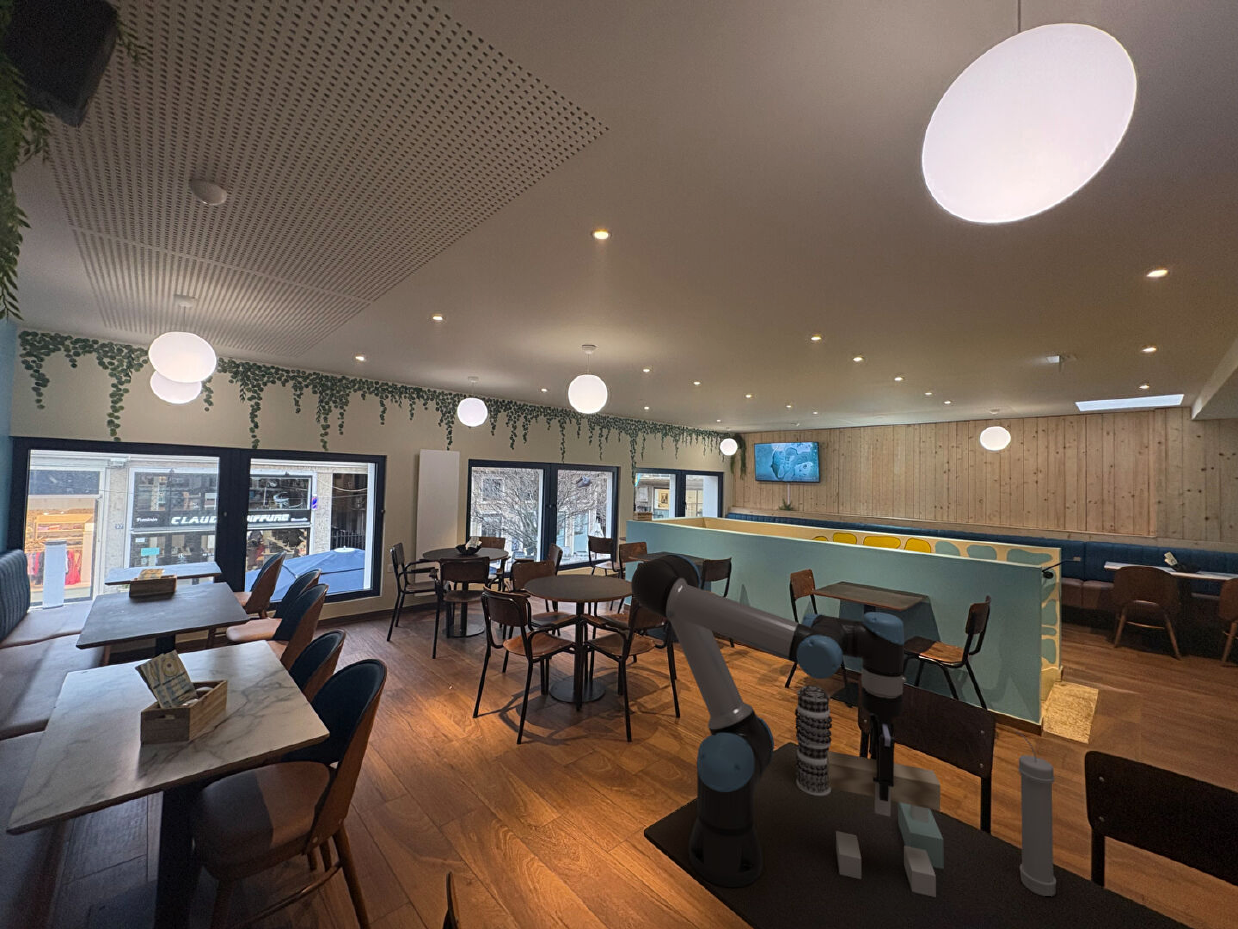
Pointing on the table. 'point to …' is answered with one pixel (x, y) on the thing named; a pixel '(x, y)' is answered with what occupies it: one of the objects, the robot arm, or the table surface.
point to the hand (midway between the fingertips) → (879, 804)
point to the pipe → (1037, 824)
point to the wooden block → (859, 773)
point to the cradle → (914, 863)
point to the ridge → (921, 832)
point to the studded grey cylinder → (813, 740)
